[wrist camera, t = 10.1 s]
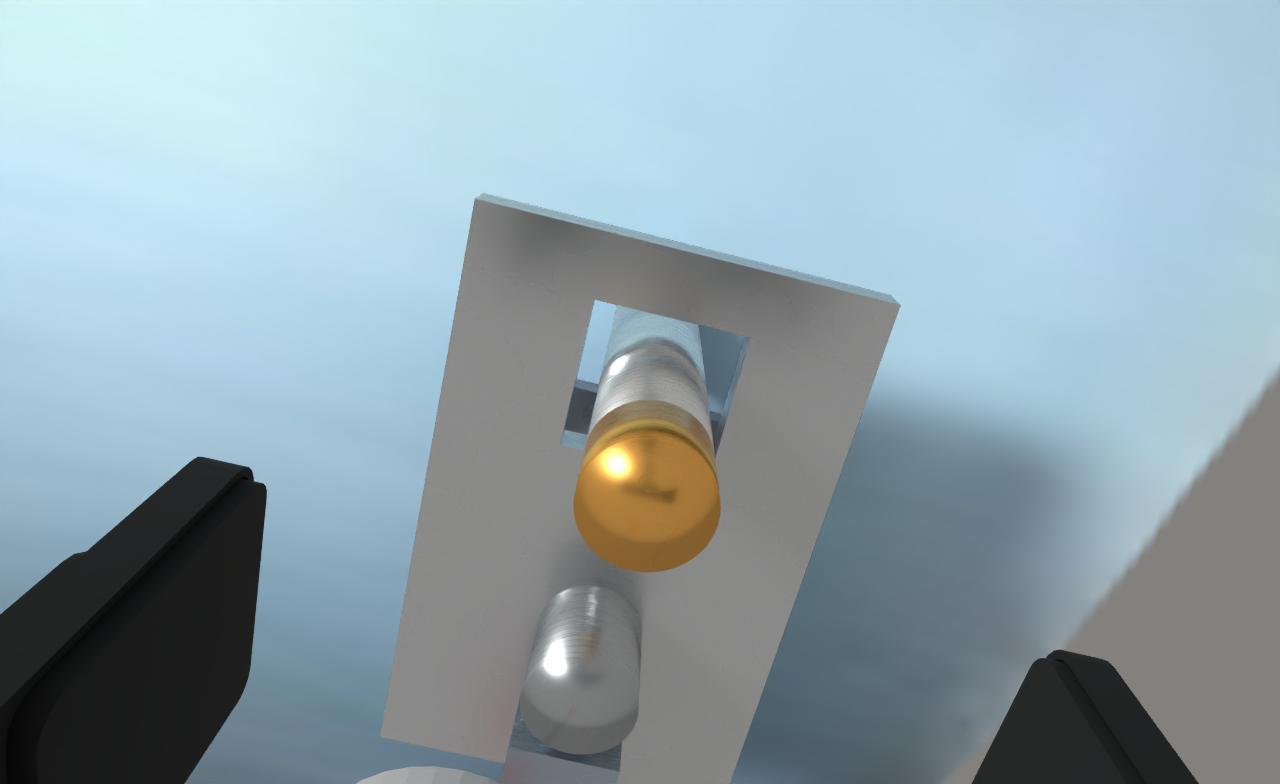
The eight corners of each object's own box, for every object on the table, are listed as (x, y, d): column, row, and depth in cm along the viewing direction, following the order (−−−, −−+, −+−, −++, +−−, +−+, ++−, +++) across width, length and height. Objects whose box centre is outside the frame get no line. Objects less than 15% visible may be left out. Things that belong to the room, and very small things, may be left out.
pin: (627, 262, 28) (590, 424, 15) (705, 282, 28) (738, 459, 15) (609, 338, 29) (559, 554, 16) (685, 356, 29) (699, 586, 16)
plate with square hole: (528, 165, 27) (442, 218, 17) (836, 243, 28) (939, 341, 17) (427, 684, 34) (321, 951, 23) (676, 739, 34) (680, 1024, 24)
